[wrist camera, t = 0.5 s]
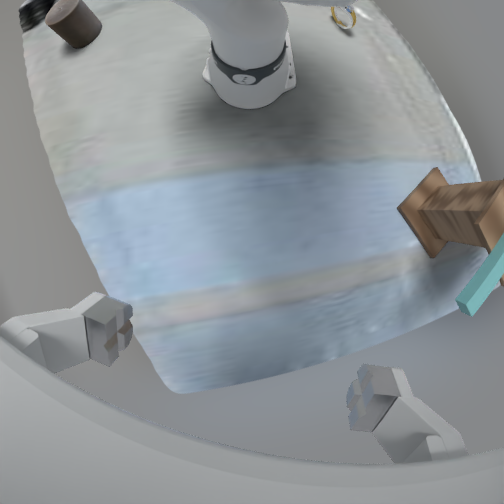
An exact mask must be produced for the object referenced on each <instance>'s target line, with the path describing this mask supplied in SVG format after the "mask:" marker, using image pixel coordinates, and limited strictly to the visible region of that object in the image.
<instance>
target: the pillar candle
mask: <svg viewBox="0 0 504 504" xmlns="http://www.w3.org/2000/svg"><path fill="white" fill-rule="evenodd" d="M45 23H46V24H47V25H48V26H49V27H50V28H51V29H52V30H54V31H55V32H56V33H57V34H58V35H59V36H60V37H62V38H63V39H64V40H65V41H66V42H68V43H69V44H70V45H71V46H72V47H74V48H82V47H84V46H86V45H88V44H89V43H91V42H92V41H93V40H94V39H95V38H96V37H97V35H98V34H99V33H100V31H101V28H102V24H101V22H100V21H99V19H98V18H97V17H96V16H95V15H94V13H93V12H92V11H91V10H90V9H89V8H88V6H87V5H86V4H85V3H84V2H83V1H82V0H60V1H59V2H57V3H56V4H55V5H54V6H53V7H52V8H51V10H50V11H49V12H48V14H47V16H46V18H45Z"/></svg>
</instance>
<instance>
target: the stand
mask: <svg viewBox="0 0 504 504" xmlns="http://www.w3.org/2000/svg"><path fill="white" fill-rule="evenodd" d="M397 209H398V210H399V212H400V213H401V215H402V216H403V217H404V219H405V220H406V222H407V223H408V224H409V226H410V227H411V229H412V230H413V232H414V233H415V235H416V236H417V238H418V239H419V241H420V242H421V244H422V245H423V247H424V248H425V250H426V252H427V253H428V255H429V256H430V257H431V258H435V256H436V255H437V254H438V253H439V252H440V251H441V249H442V248H443V247H444V246H445V244H446V243H447V242H448V241H452V242H458V243H463V244H469V245H474V246H479V247H484V248H486V250H487V252H488V254H490V253H491V251H492V250H493V248H494V247H495V245H496V244H497V242H498V241H499V239H500V238H501V236H502V235H503V233H504V179H503V180H499V181H485V182H475V183H464V184H454V185H449V184H448V183H447V181H446V180H445V178H444V177H443V175H442V174H441V172H440V170H439V169H438V167H436V168H433V169H432V170H431V171H430V172H429V173H428V175H427V176H426V177H425V178H424V179H423V180H422V181H421V182H420V183H419V185H418V186H417V187H416V188H415V189H414V190H413V191H412V192H411V193H410V194H409V195H408V197H407V198H406V199H405V200H404V201H403V202H402V203H401V204H400V205H399V206H398V207H397ZM500 283H501V285H502V286H504V274H503V275H502V277H501V278H500Z"/></svg>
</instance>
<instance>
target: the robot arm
mask: <svg viewBox="0 0 504 504" xmlns="http://www.w3.org/2000/svg"><path fill="white" fill-rule="evenodd" d="M170 1H172V2H174V3H176V4H178V5H180V6H182V7H184V8H185V9H187V10H188V11H190V12H191V13H193V14H194V15H195V16H197V17H198V18H199V19H200V20H201V21H202V22H203V23H204V24H205V25H206V26H207V28H208V30H209V33H210V36H211V39H212V41H211V48H210V49H209V54H210V56H209V58H207V64H206V66H205V68H204V71H203V73H202V76H203V79H204V80H205V81H207V82H208V83H210V84H211V85H212V86H213V87H214V89H215V91H216V92H217V94H218V95H219V97H220V98H221V99H222V100H224V101H225V102H226V103H228V104H230V105H232V106H235V107H238V108H243V109H255V108H260V107H263V106H266V105H268V104H270V103H272V102H273V101H275V100H276V99H277V98H278V97H279V96H280V95H281V94H282V93H283V92H286V91H288V90H291V89H293V88H294V87H295V86H296V74H295V68H294V61H293V54H292V48H291V42H290V36H289V32H288V31H287V28H288V21H289V20H288V15H287V12H286V10H285V8H284V7H283V5H282V4H281V2H280V1H282V2H289V3H295V4H301V5H314V6H330V7H347V6H349V5H351V4H353V3H355V2H356V1H358V0H170ZM289 77H291V78H292V79H289ZM132 316H133V312H132V306H131V305H130V304H128V303H125V302H122V301H120V300H117V299H115V298H112V297H110V296H107V295H104V294H102V293H99V292H93V293H92V294H91V295H89V296H88V297H86V298H85V299H84V300H83V301H81V302H79V303H78V304H77V305H75V306H74V307H73V308H71V309H68V308H65V309H59V310H53V311H48V312H41V313H35V314H28V315H22V316H16V317H13V318H11V319H10V320H8V321H7V322H5V323H4V324H2V325H1V326H0V504H504V448H500V449H496V450H492V451H488V452H484V453H479V454H474V455H468V452H467V450H466V447H465V445H464V442H463V440H462V437H461V435H460V433H459V432H458V431H457V430H456V429H454V428H453V427H452V426H451V425H449V424H448V423H447V422H446V421H445V420H443V419H442V418H441V417H440V416H439V415H438V414H436V413H435V412H434V411H433V410H431V409H430V408H429V407H428V406H427V405H426V404H424V403H423V402H422V401H421V400H420V399H419V398H414V396H413V393H412V390H411V388H410V386H409V383H408V381H407V378H406V376H405V373H404V371H403V370H402V369H401V368H395V367H383V366H375V365H367V364H363V365H362V366H361V367H360V369H359V370H358V372H357V373H358V379H356V380H355V381H353V382H352V383H351V385H350V387H349V390H348V394H347V407H348V408H349V409H350V410H351V413H350V414H349V416H348V417H349V424H350V430H355V431H365V432H372V434H373V435H374V437H375V438H376V439H377V441H378V442H379V443H380V445H381V446H382V447H383V449H384V450H385V451H386V452H387V454H388V455H389V457H390V458H391V459H392V461H393V462H394V463H395V464H353V463H335V462H322V461H312V460H303V459H295V458H289V457H282V456H276V455H270V454H264V453H259V452H255V451H250V450H245V449H241V448H236V447H232V446H228V445H224V444H220V443H217V442H213V441H209V440H206V439H202V438H199V437H196V436H192V435H189V434H186V433H183V432H180V431H177V430H174V429H171V428H168V427H166V426H163V425H160V424H157V423H155V422H152V421H150V420H147V419H145V418H142V417H140V416H137V415H135V414H133V413H130V412H128V411H125V410H123V409H121V408H119V407H116V406H114V405H112V404H110V403H108V402H106V401H104V400H102V399H100V398H98V397H96V396H94V395H92V394H90V393H88V392H86V391H84V390H82V389H81V388H79V387H77V386H75V385H73V384H72V383H70V382H68V381H66V380H65V379H63V378H61V377H60V376H58V375H56V374H55V373H57V372H60V371H62V370H64V369H67V368H70V367H72V366H75V365H78V364H80V363H83V362H85V361H88V360H90V359H92V360H95V361H97V362H99V363H101V364H104V365H106V366H108V367H110V366H111V365H112V363H113V362H114V361H115V360H116V359H117V358H118V357H119V353H118V351H121V350H124V349H125V348H126V347H127V346H128V345H129V343H130V340H131V338H132V333H133V326H132V324H131V322H130V320H129V319H130V318H131V317H132Z"/></svg>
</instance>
